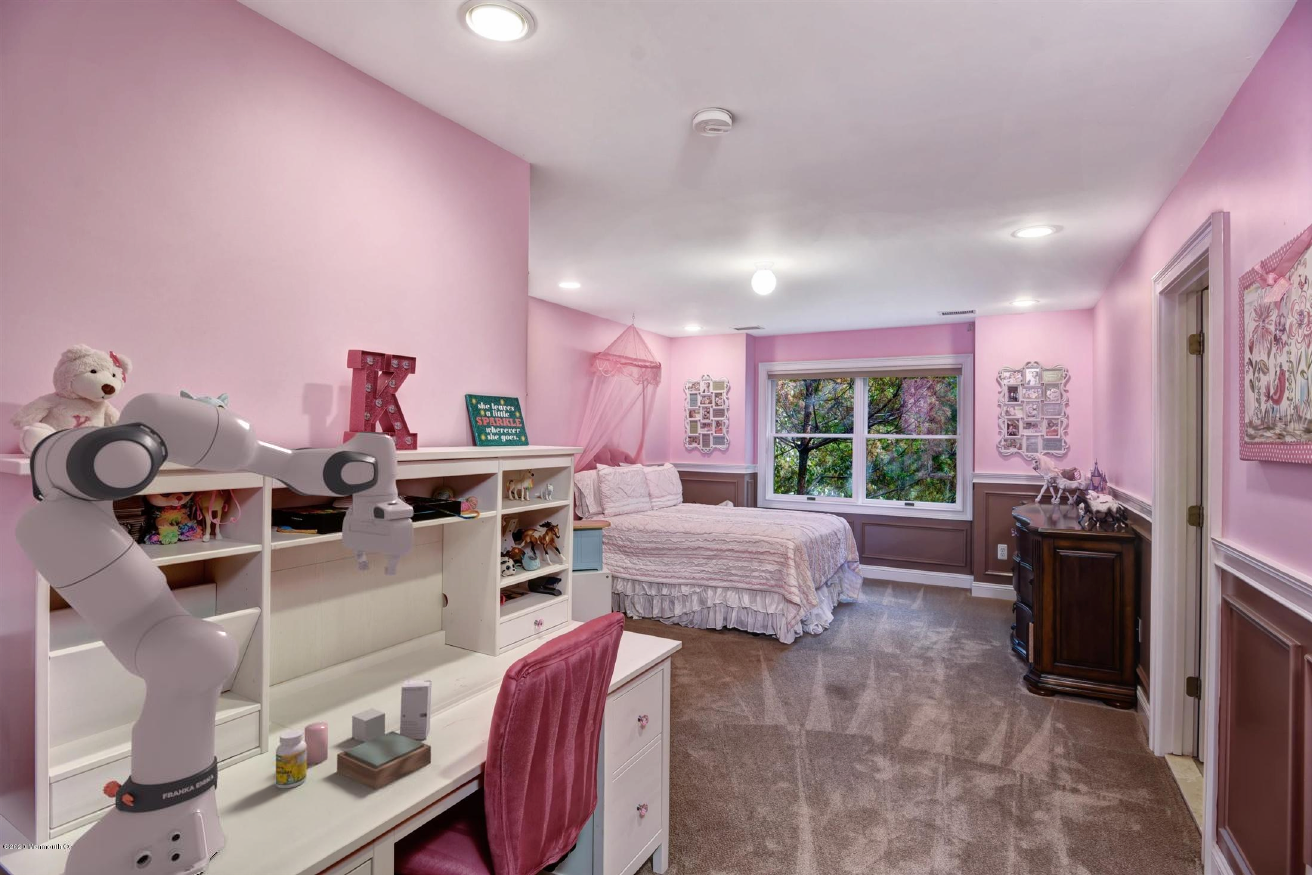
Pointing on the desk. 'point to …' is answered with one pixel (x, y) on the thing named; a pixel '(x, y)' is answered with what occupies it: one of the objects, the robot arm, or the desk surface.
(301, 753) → the supplement bottle
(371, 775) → the tray
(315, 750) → the pink pillar
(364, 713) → the light gray block
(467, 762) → the desk surface
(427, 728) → the skincare box
